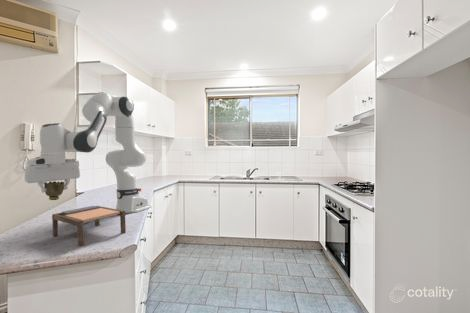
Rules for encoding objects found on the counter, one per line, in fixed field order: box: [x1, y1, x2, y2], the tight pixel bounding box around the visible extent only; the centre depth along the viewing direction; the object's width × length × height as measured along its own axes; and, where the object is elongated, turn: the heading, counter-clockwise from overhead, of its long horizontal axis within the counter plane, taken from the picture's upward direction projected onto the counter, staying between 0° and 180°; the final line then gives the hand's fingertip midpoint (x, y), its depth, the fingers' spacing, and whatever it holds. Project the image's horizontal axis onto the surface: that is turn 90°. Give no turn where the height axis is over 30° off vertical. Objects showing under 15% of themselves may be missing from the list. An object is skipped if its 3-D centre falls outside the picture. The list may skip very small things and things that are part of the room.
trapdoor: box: [61, 205, 120, 222], centre depth 113 cm, size 16×21×2 cm
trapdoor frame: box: [51, 205, 127, 247], centre depth 114 cm, size 20×24×10 cm
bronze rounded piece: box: [43, 180, 66, 201], centre depth 110 cm, size 8×7×8 cm
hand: (54, 190), depth 111 cm, fingers closed on bronze rounded piece, 6 cm apart
